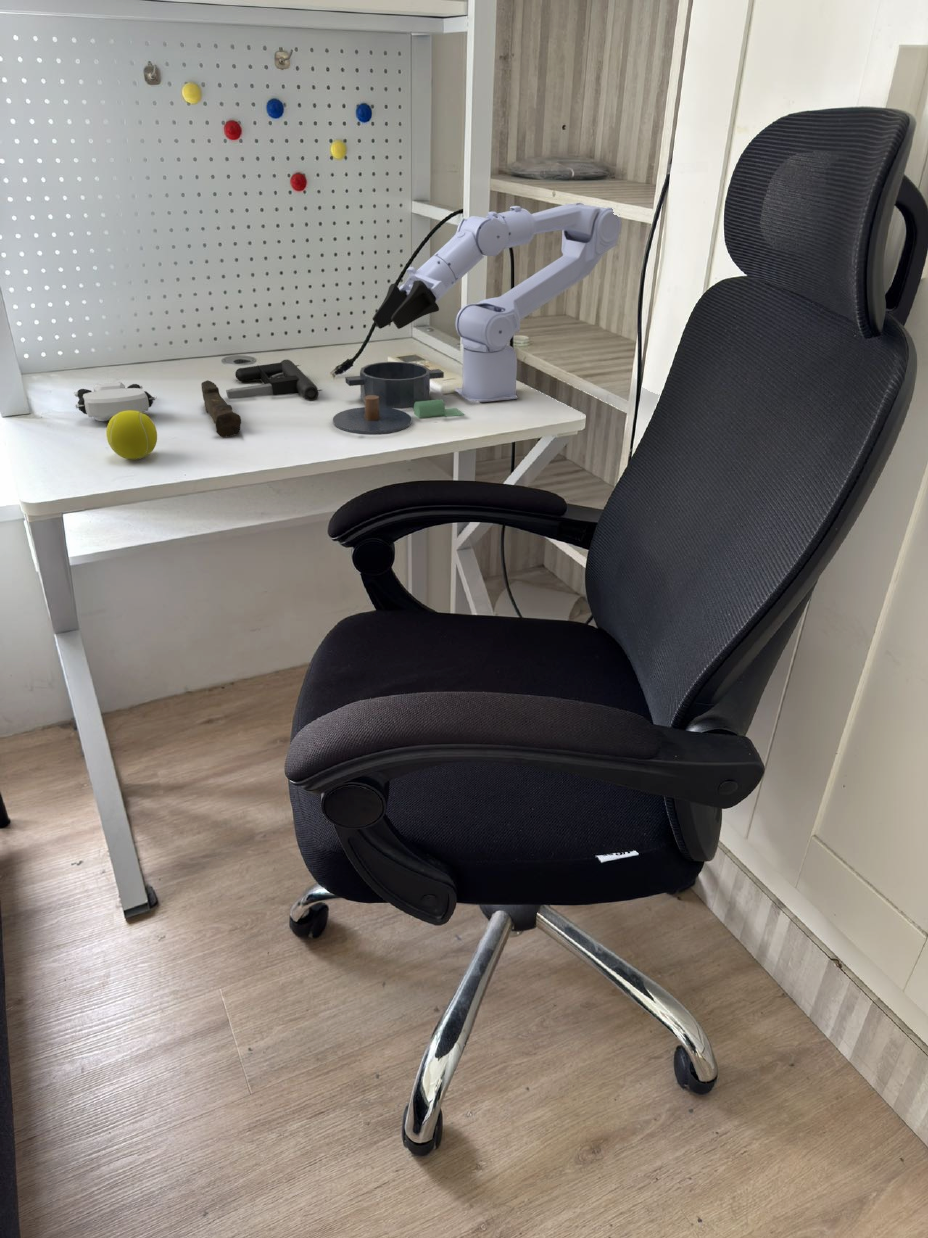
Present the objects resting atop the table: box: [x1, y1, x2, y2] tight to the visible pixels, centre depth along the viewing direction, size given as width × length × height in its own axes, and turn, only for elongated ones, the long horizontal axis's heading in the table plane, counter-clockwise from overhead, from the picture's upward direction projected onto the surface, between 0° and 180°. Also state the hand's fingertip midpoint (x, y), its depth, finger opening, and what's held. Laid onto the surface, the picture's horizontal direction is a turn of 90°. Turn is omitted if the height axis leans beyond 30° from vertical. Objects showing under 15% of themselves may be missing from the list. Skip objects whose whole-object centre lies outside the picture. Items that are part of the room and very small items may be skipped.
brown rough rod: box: [200, 379, 242, 438], centre depth 151 cm, size 19×4×5 cm, turn 22°
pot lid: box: [332, 395, 413, 435], centre depth 151 cm, size 13×13×5 cm
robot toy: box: [73, 381, 158, 422], centre depth 153 cm, size 12×4×15 cm
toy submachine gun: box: [225, 359, 322, 402], centre depth 167 cm, size 3×20×16 cm
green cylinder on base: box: [413, 398, 465, 419], centre depth 156 cm, size 8×4×3 cm, turn 113°
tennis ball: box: [106, 410, 158, 460], centre depth 134 cm, size 7×7×7 cm
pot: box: [344, 361, 445, 410], centre depth 162 cm, size 12×18×6 cm
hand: (385, 323), depth 150 cm, fingers open, 7 cm apart
